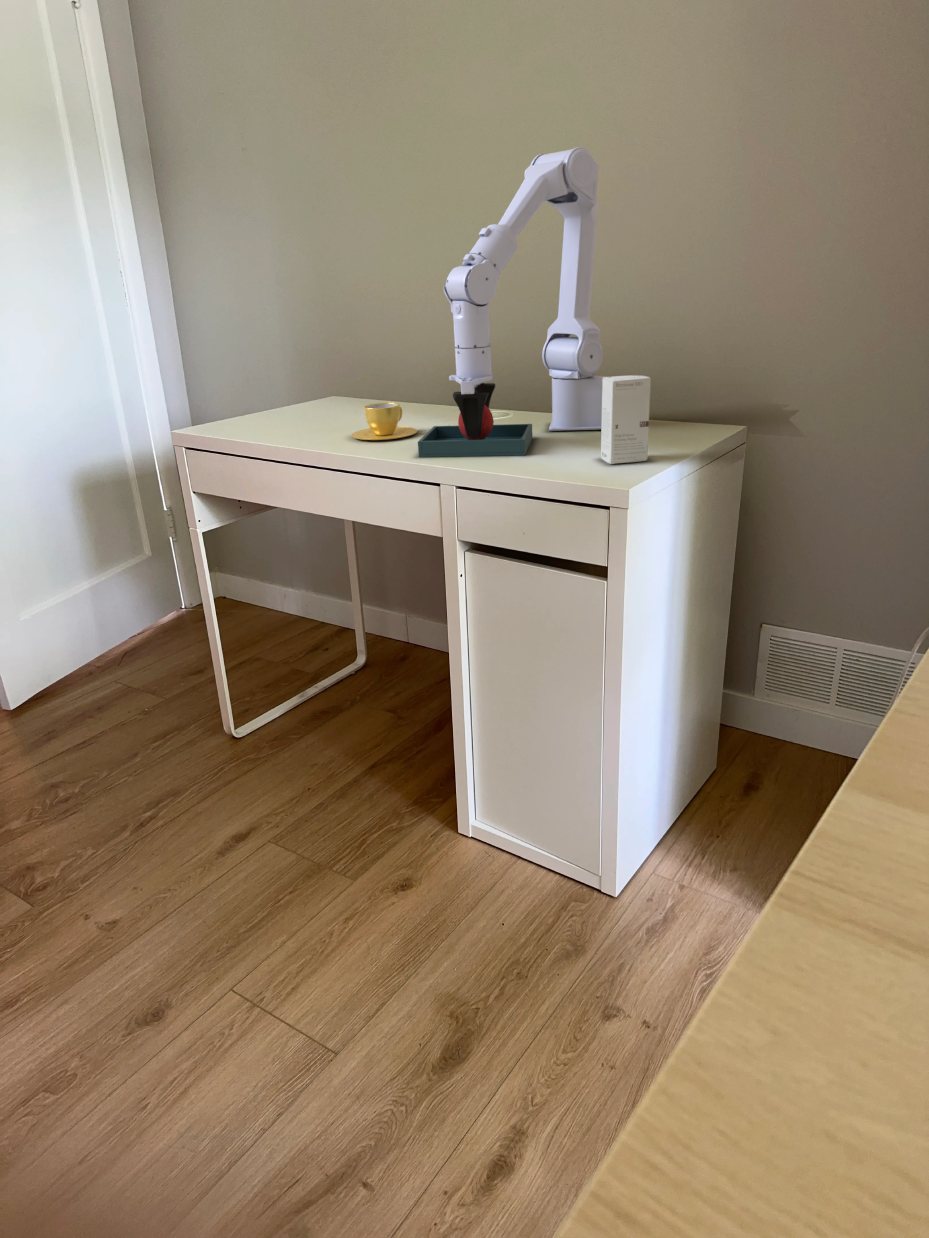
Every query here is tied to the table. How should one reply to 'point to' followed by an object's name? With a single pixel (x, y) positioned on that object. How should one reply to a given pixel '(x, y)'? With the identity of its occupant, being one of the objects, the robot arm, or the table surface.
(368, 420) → the cup
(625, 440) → the cosmetic box
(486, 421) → the onion
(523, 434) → the tray
